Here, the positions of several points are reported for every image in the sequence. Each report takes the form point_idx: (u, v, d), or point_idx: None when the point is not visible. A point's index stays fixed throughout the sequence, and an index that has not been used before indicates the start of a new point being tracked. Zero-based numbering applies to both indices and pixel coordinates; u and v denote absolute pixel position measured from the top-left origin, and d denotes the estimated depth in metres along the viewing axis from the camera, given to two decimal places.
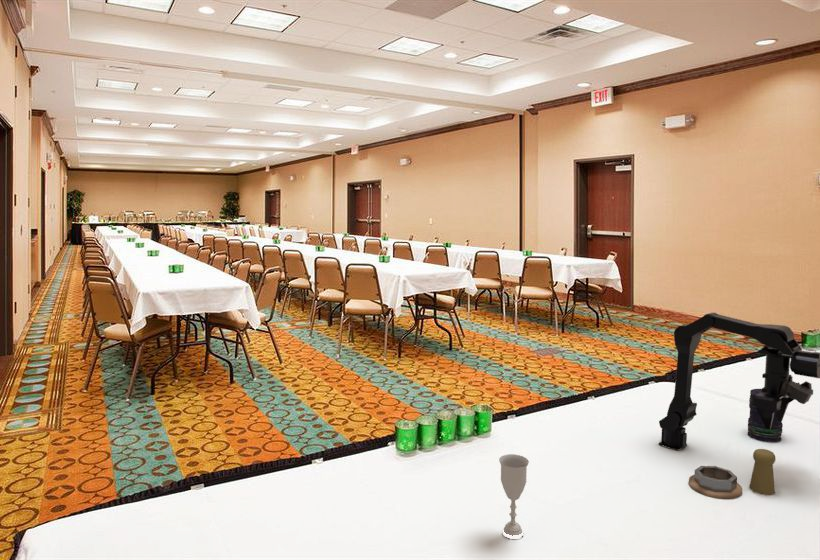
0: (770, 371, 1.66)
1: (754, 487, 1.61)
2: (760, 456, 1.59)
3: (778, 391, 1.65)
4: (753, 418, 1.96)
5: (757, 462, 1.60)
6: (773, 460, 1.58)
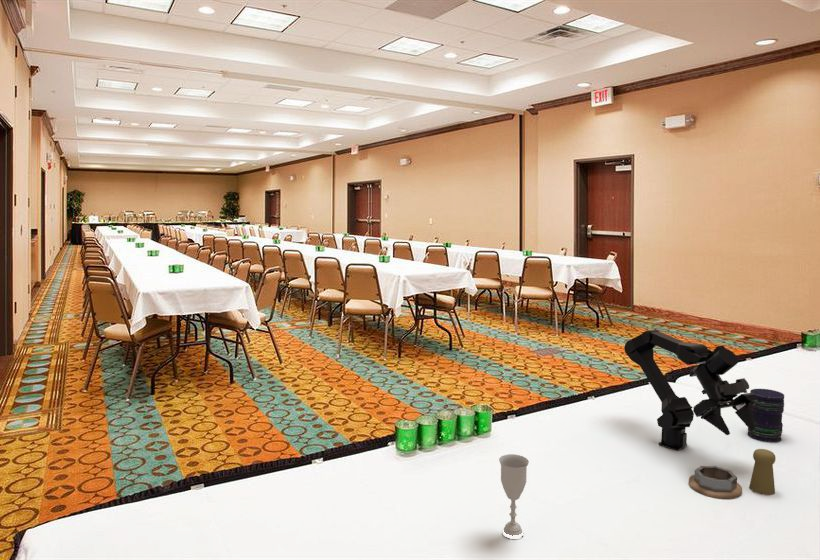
0: (702, 384, 1.76)
1: (754, 487, 1.61)
2: (760, 456, 1.59)
3: (717, 397, 1.71)
4: (753, 418, 1.96)
5: (757, 462, 1.60)
6: (773, 460, 1.58)
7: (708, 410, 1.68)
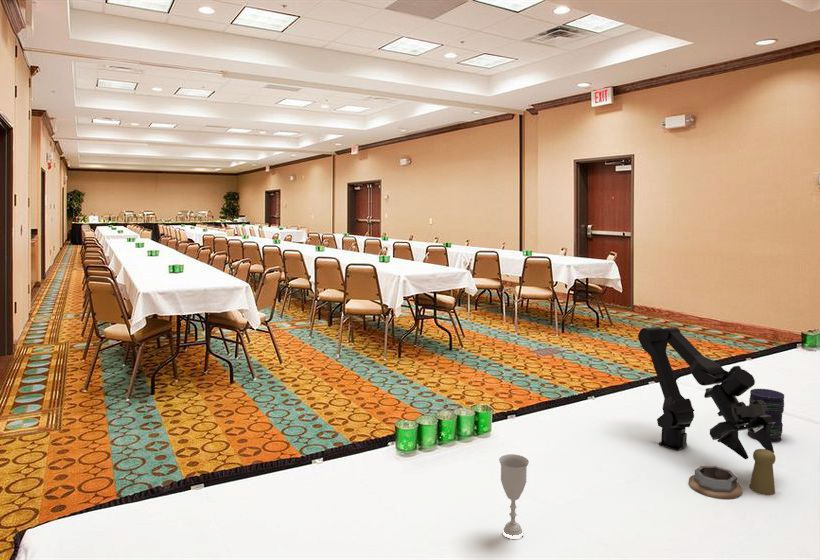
0: (718, 406, 1.71)
1: (754, 487, 1.61)
2: (760, 456, 1.59)
3: (734, 419, 1.66)
4: None
5: (757, 462, 1.60)
6: (773, 460, 1.58)
7: (725, 433, 1.62)
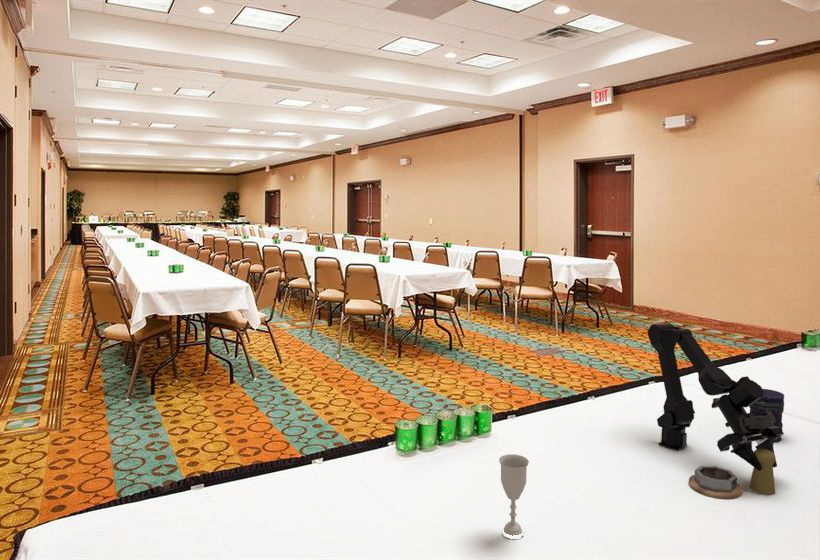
0: (726, 416, 1.68)
1: (754, 487, 1.61)
2: (760, 456, 1.59)
3: (742, 430, 1.64)
4: None
5: None
6: (773, 460, 1.58)
7: (739, 444, 1.61)
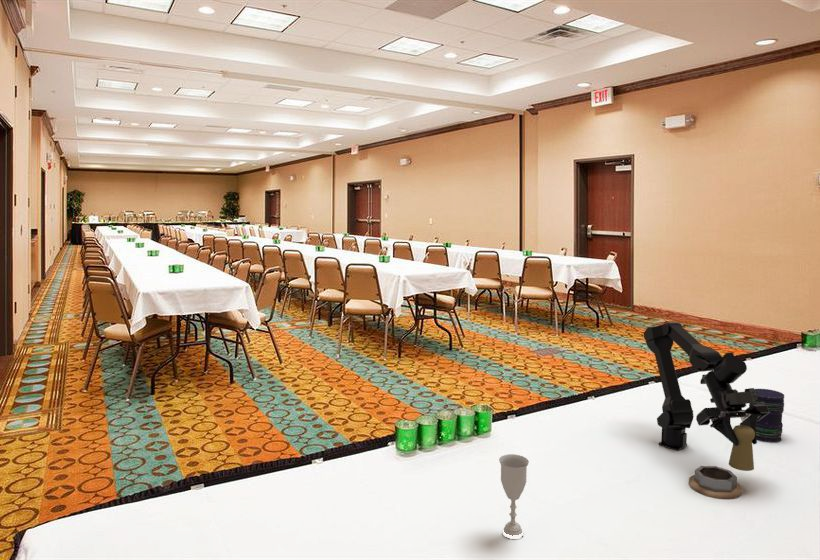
0: (710, 392, 1.69)
1: (732, 462, 1.61)
2: (738, 432, 1.59)
3: (723, 406, 1.64)
4: None
5: None
6: (751, 436, 1.58)
7: (716, 418, 1.61)
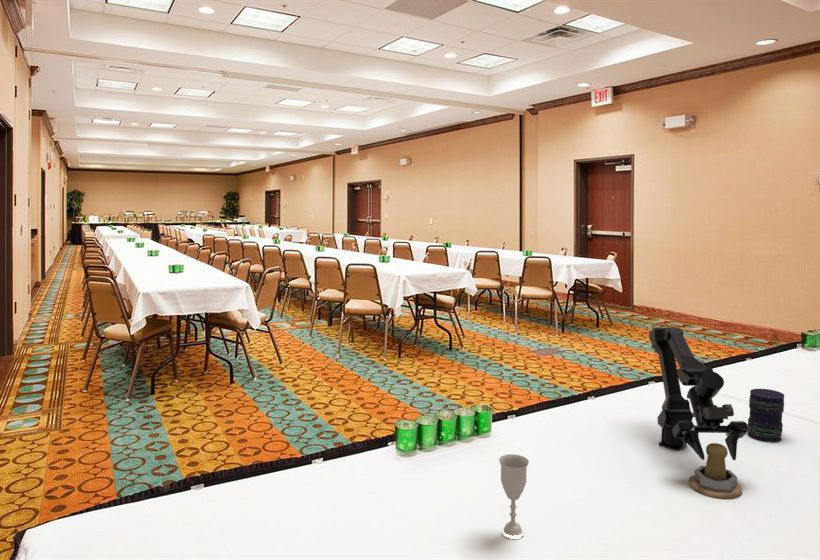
0: (692, 406, 1.71)
1: None
2: (709, 449, 1.61)
3: None
4: (753, 418, 1.96)
5: (708, 455, 1.62)
6: (722, 454, 1.60)
7: (685, 432, 1.64)
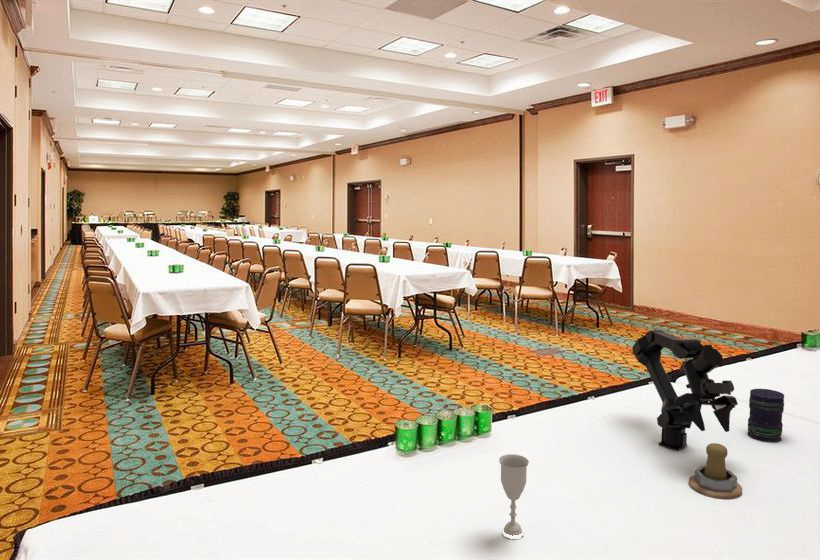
0: (687, 379, 1.78)
1: None
2: (709, 449, 1.61)
3: (700, 393, 1.73)
4: (753, 418, 1.96)
5: (708, 455, 1.62)
6: (722, 454, 1.60)
7: (689, 404, 1.70)
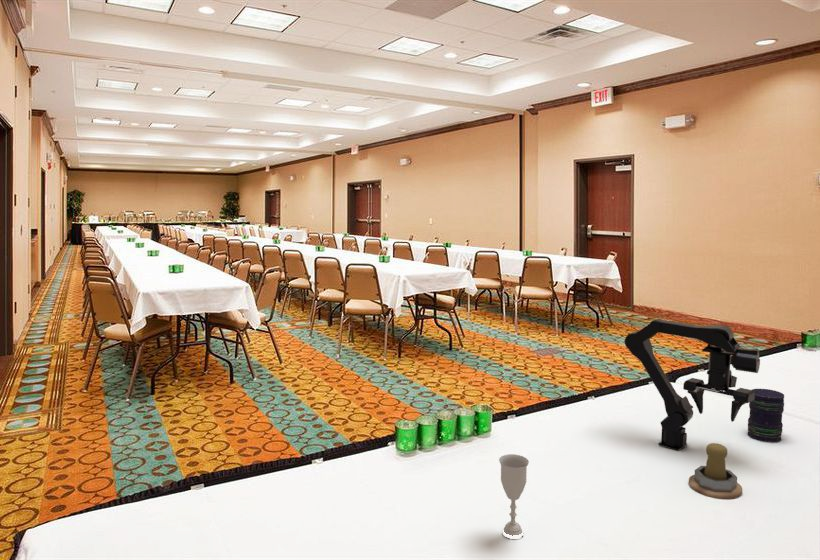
0: (714, 368, 1.79)
1: None
2: (709, 449, 1.61)
3: (728, 384, 1.81)
4: (753, 418, 1.96)
5: (708, 455, 1.62)
6: (722, 454, 1.60)
7: None
